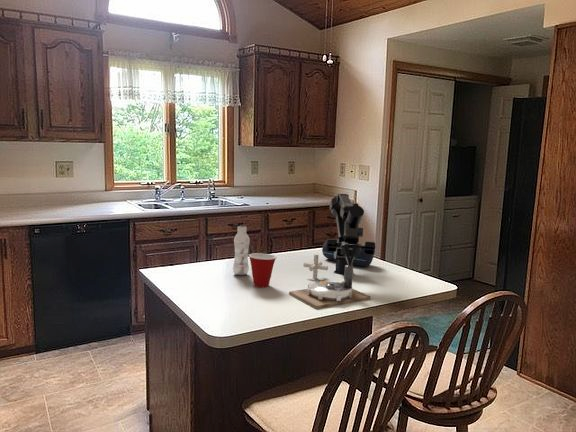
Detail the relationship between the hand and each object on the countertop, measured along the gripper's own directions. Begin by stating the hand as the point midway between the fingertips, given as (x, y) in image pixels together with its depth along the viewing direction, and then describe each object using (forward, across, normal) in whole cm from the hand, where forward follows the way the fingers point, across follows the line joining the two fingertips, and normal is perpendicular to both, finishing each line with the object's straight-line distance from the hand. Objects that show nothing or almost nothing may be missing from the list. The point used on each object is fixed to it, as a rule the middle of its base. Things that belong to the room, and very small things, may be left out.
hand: (349, 265), depth 183 cm
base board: (+14, -7, -1) cm, 16 cm away
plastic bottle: (+1, -44, +13) cm, 46 cm away
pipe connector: (-2, -14, +15) cm, 20 cm away
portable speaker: (-23, -1, +36) cm, 43 cm away
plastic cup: (+9, -33, +4) cm, 35 cm away
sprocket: (+13, -7, -2) cm, 15 cm away
